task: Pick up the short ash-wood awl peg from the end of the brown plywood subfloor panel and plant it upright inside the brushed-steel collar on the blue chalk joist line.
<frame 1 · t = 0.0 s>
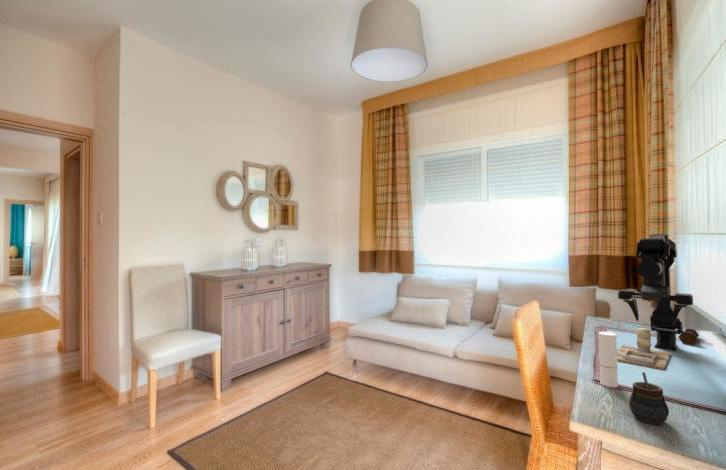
hand: (654, 322, 115), 15 cm above the table, fingers open, 9 cm apart
brown textured oblong piece: (690, 341, 143), on the table
mate gourd: (648, 420, 82), on the table
awl: (644, 351, 128), point 1 cm above the table, touching subfloor panel
tube: (609, 385, 102), on the table
awl collar: (639, 360, 121), resting on subfloor panel
subfloor panel: (641, 357, 124), on the table
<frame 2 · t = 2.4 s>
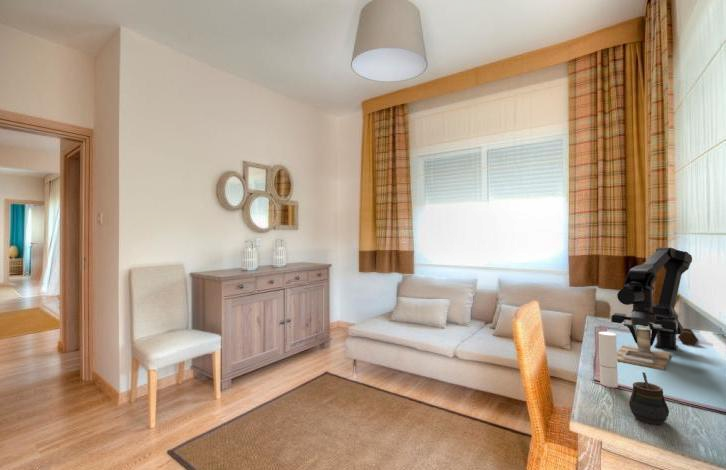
hand: (643, 344, 128), 3 cm above the table, fingers closed on awl, 4 cm apart
awl: (644, 351, 128), point 1 cm above the table, touching gripper, subfloor panel
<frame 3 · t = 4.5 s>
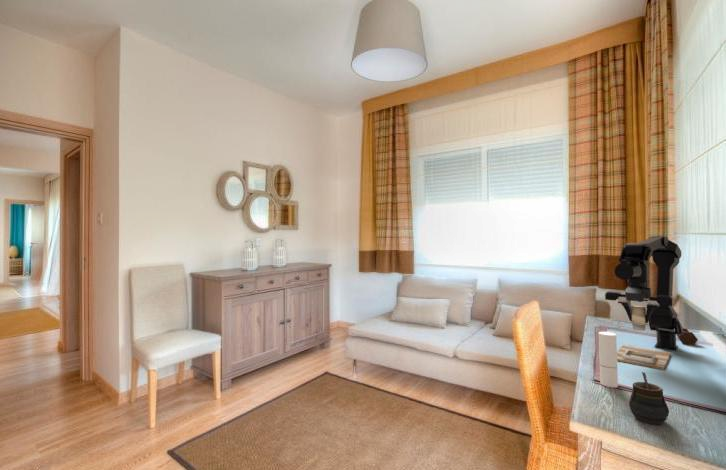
hand: (638, 322, 123), 13 cm above the table, fingers closed on awl, 4 cm apart
awl: (638, 329, 123), point 10 cm above the table, touching gripper
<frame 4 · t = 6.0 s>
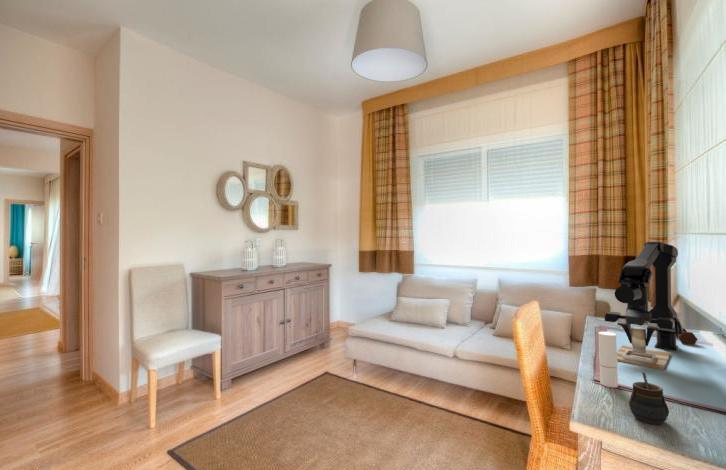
hand: (638, 344, 121), 6 cm above the table, fingers closed on awl, 4 cm apart
awl: (639, 351, 121), point 3 cm above the table, touching gripper
when the fingers open (4 cm above the table, at t = 7.0 s): awl drops 1 cm, resting on subfloor panel.
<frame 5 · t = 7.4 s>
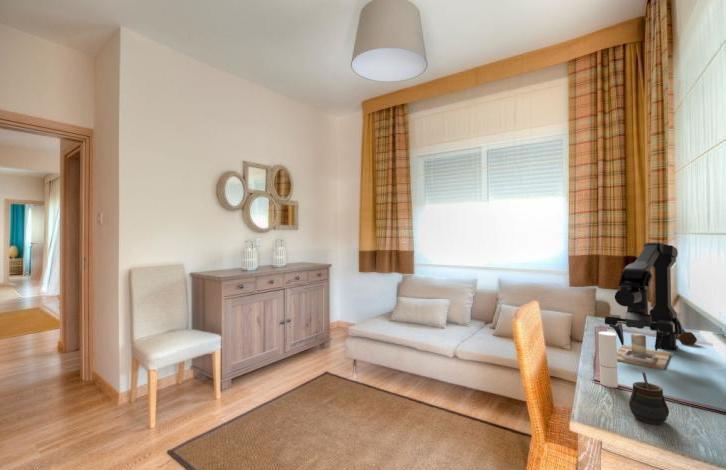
hand: (639, 347, 121), 4 cm above the table, fingers open, 9 cm apart
awl: (639, 358, 121), point 1 cm above the table, touching subfloor panel
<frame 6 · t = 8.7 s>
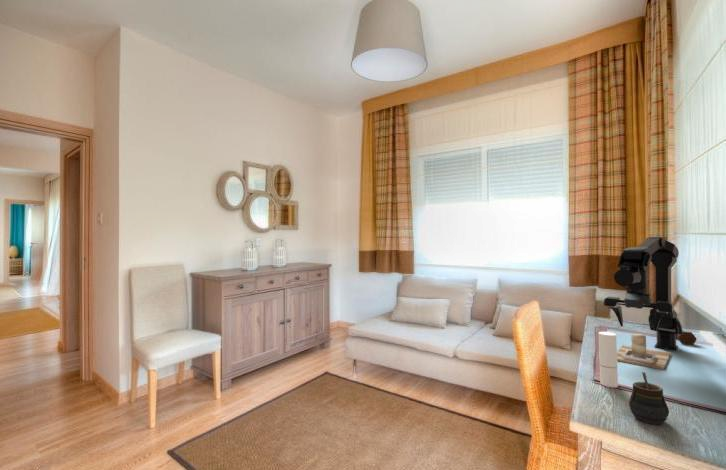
hand: (638, 328, 121), 11 cm above the table, fingers open, 9 cm apart
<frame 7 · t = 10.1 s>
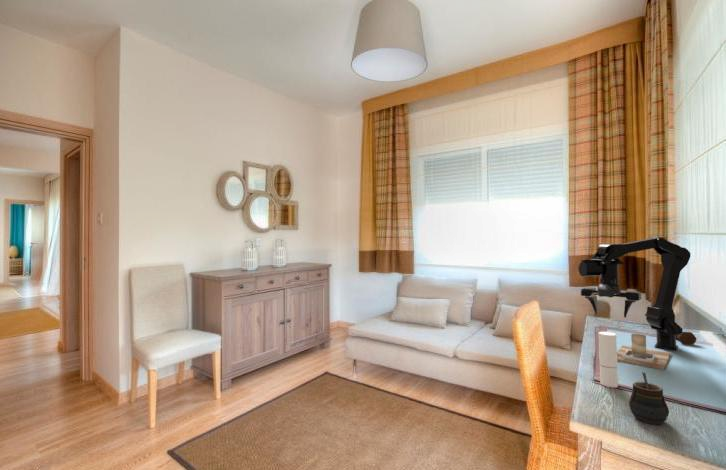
hand: (610, 315, 136), 12 cm above the table, fingers open, 9 cm apart
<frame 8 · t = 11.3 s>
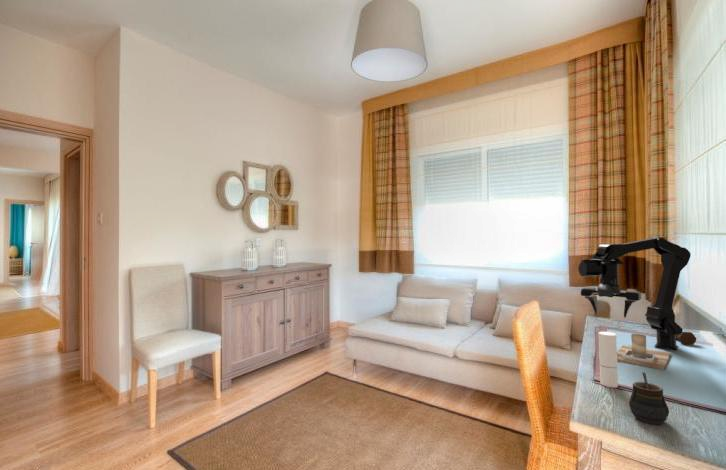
hand: (610, 315, 136), 13 cm above the table, fingers open, 9 cm apart
at the end: awl 0.0 cm off-centre on the awl collar, point 0.8 cm above the awl collar's base; awl tilted 0°; the gripper is holding nothing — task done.
